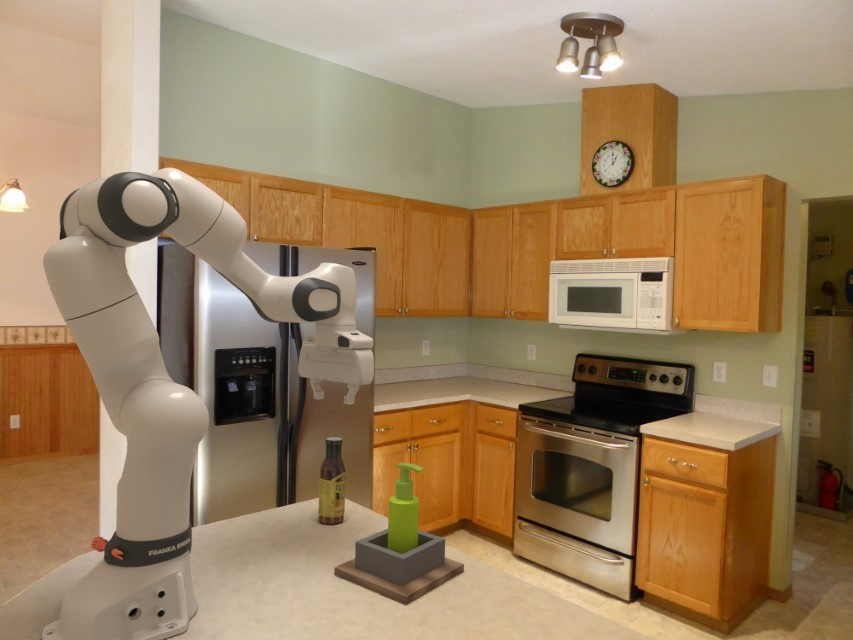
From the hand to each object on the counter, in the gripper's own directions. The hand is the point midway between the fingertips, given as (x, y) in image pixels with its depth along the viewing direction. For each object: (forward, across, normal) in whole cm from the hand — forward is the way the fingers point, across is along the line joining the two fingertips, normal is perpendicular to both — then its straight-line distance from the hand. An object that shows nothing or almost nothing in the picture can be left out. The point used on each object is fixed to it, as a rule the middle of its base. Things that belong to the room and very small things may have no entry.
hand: (333, 401), depth 131 cm
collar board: (+31, +21, -1) cm, 37 cm away
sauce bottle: (+31, -10, +10) cm, 34 cm away
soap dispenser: (+30, +22, -1) cm, 37 cm away
